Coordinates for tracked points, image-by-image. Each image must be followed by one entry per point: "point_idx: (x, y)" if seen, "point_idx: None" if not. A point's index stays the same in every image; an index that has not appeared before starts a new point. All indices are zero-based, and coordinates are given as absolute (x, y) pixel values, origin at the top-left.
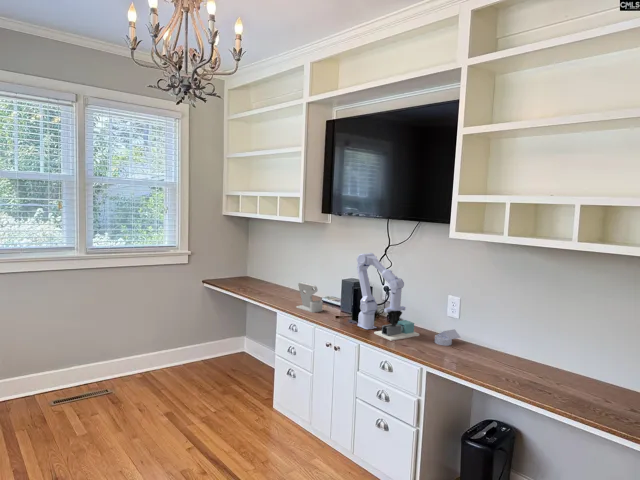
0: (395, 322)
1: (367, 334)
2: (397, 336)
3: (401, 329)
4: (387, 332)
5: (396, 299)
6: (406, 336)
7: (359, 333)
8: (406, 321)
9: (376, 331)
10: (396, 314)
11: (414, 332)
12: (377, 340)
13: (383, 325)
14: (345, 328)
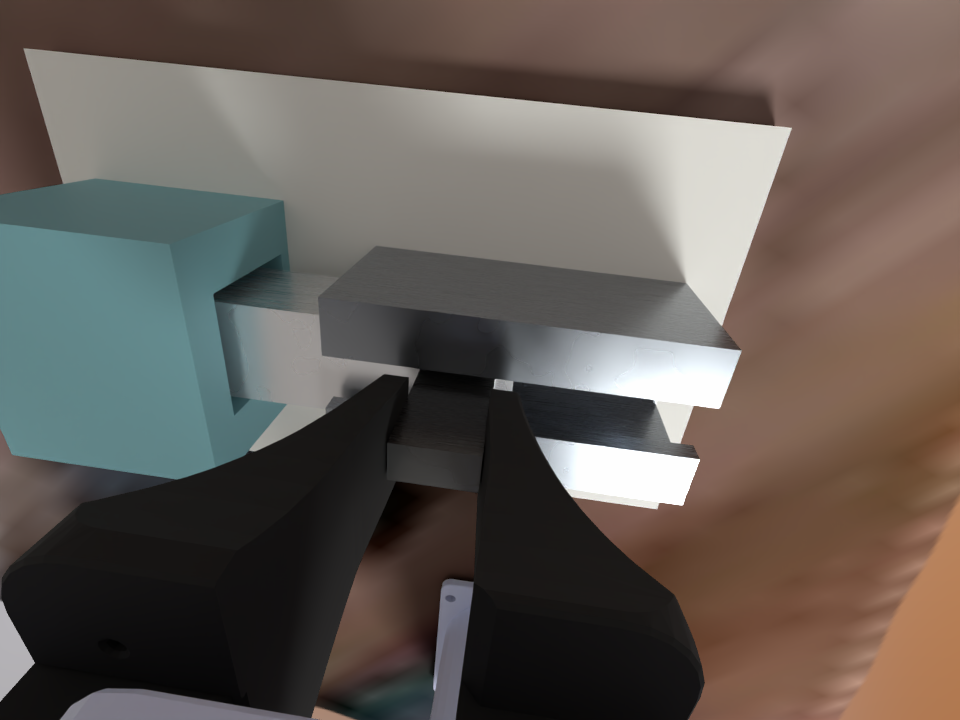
0: (412, 415)
1: (761, 511)
2: (545, 171)
3: (309, 287)
4: (703, 313)
5: None
6: (373, 85)
7: (803, 576)
8: (44, 385)
9: (617, 500)
10: (310, 591)
11: (81, 166)
12: (942, 275)
13: (665, 490)
14: (752, 714)
